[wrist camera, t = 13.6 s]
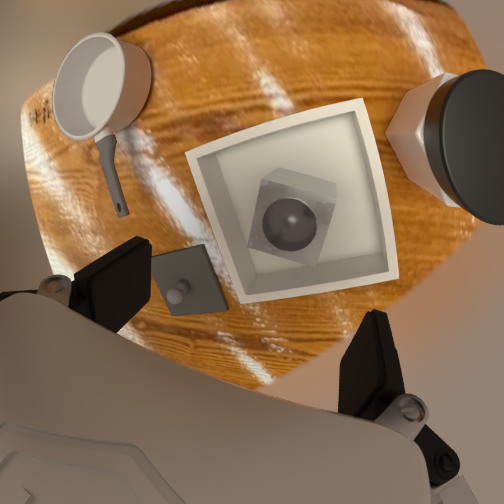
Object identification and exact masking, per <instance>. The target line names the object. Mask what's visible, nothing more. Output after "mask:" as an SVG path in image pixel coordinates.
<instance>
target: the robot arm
mask: <svg viewBox="0 0 504 504" xmlns="http://www.w3.org/2000/svg"><path fill="white" fill-rule="evenodd" d="M151 257H152V245H151V244H150V243H149V240H148V239H145V238H142V237H139V236H135V237H134V238H132V239H130V240H128V241H127V242H125V243H123V244H122V245H120V246H118V247H117V248H115V249H113V250H112V251H110V252H108V253H107V254H105V255H103V256H102V257H100V258H98V259H97V260H95V261H94V262H92V263H90V264H89V265H87V266H86V267H84V268H83V269H81V270H79V271H78V272H76V273H75V274H74V279H75V280H74V281H72V282H71V280H70V278H68V277H67V276H64V275H52V276H48V277H46V278H45V279H43V280H42V281H41V283H40V285H39V288H38V290H26V291H10V292H2V293H0V504H479V503H478V501H477V499H476V498H475V496H474V494H473V492H472V490H471V489H470V487H469V485H468V483H467V482H466V480H465V478H464V476H463V475H461V476H460V477H459V475H458V472H459V468H460V461H459V458H458V456H457V454H456V453H455V452H454V450H453V449H451V448H450V447H449V446H448V445H447V444H446V443H445V442H444V441H443V440H442V439H441V438H440V437H439V436H438V435H437V434H435V433H434V432H433V431H432V430H431V429H430V428H429V427H428V426H427V425H426V424H425V423H426V422H427V420H428V414H429V412H428V409H427V406H426V405H425V403H424V402H423V401H422V400H421V399H420V398H418V397H417V396H415V395H413V394H406V393H405V388H404V383H403V377H402V372H401V367H400V362H399V358H398V353H397V350H396V348H395V345H394V341H393V337H392V332H391V328H390V324H389V320H388V317H387V313H385V312H382V311H378V310H375V309H373V310H372V311H371V312H369V311H368V312H367V313H366V314H365V316H364V318H363V320H362V322H361V324H360V326H359V328H358V330H357V332H356V334H355V336H354V338H353V339H352V341H351V343H350V345H349V347H348V349H347V350H346V352H345V354H344V356H343V357H342V360H341V362H340V376H339V402H338V413H337V412H332V411H328V410H324V409H319V408H315V407H311V406H307V405H303V404H299V403H295V402H292V401H288V400H284V399H281V398H277V397H274V396H271V395H267V394H264V393H261V392H257V391H254V390H251V389H248V388H245V387H242V386H239V385H236V384H233V383H230V382H228V381H225V380H222V379H219V378H216V377H214V376H211V375H208V374H206V373H203V372H201V371H198V370H195V369H193V368H190V367H188V366H186V365H183V364H181V363H178V362H176V361H174V360H171V359H169V358H167V357H164V356H162V355H160V354H158V353H155V352H153V351H151V350H149V349H147V348H145V347H142V346H140V345H138V344H136V343H134V342H132V341H130V340H128V339H126V338H124V337H122V336H120V335H118V334H116V333H117V332H118V331H119V330H120V329H121V328H122V327H123V326H124V325H125V324H126V323H127V322H128V321H129V320H130V319H131V318H132V317H133V316H134V315H135V314H136V313H137V312H138V311H139V310H140V309H141V308H142V307H143V306H144V305H145V304H146V303H147V302H148V301H149V299H150V296H151Z"/></svg>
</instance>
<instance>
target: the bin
mask: <svg viewBox="0 0 504 504" xmlns="http://www.w3.org/2000/svg"><path fill="white" fill-rule="evenodd" d="M185 154H186V157H187V160H188V163H189V166H190V169H191V172H192V175H193V178H194V180H195V183H196V186H197V189H198V192H199V194H200V197H201V200H202V203H203V206H204V208H205V211H206V214H207V217H208V219H209V222H210V225H211V228H212V230H213V233H214V236H215V238H216V241H217V244H218V246H219V249H220V252H221V254H222V257H223V260H224V262H225V265H226V268H227V270H228V273H229V275H230V278H231V281H232V283H233V286H234V288H235V291H236V294H237V296H238V299H239V301H240V304H245V303H253V302H261V301H268V300H276V299H283V298H290V297H296V296H303V295H310V294H316V293H322V292H328V291H334V290H340V289H346V288H352V287H357V286H363V285H368V284H374V283H379V282H384V281H389V280H394V279H399V272H398V261H397V252H396V244H395V236H394V229H393V223H392V216H391V210H390V205H389V199H388V194H387V189H386V184H385V179H384V174H383V170H382V166H381V161H380V157H379V153H378V149H377V145H376V142H375V138H374V134H373V131H372V127H371V124H370V121H369V117H368V114H367V111H366V108H365V105H364V101H363V98H359V99H354V100H349V101H344V102H340V103H335V104H331V105H327V106H323V107H319V108H315V109H311V110H307V111H303V112H300V113H296V114H293V115H289V116H286V117H282V118H279V119H276V120H272V121H269V122H266V123H263V124H260V125H257V126H254V127H251V128H248V129H245V130H242V131H239V132H236V133H234V134H231V135H228V136H225V137H223V138H220V139H217V140H215V141H212V142H210V143H207V144H204V145H202V146H199V147H197V148H195V149H192V150H190V151H187V152H185ZM279 167H280V168H284V169H288V170H291V171H295V172H299V173H303V174H306V175H310V176H313V177H317V178H320V179H324V180H327V181H331V182H334V183H336V194H337V202H336V205H335V208H334V212H333V215H332V218H331V222H330V225H329V228H328V231H327V234H326V237H325V241H324V244H323V247H322V250H321V253H320V256H319V259H318V262H317V265H316V268H314V267H311V266H308V265H304V264H301V263H298V262H294V261H291V260H288V259H284V258H281V257H278V256H275V255H271V254H268V253H265V252H261V251H258V250H255V249H251V248H248V247H247V245H248V240H249V235H250V231H251V226H252V221H253V216H254V211H255V206H256V202H257V197H258V192H259V187H260V183H261V179H262V178H263V177H265V176H266V175H268V174H269V173H271V172H272V171H274V170H275V169H277V168H279Z"/></svg>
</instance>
